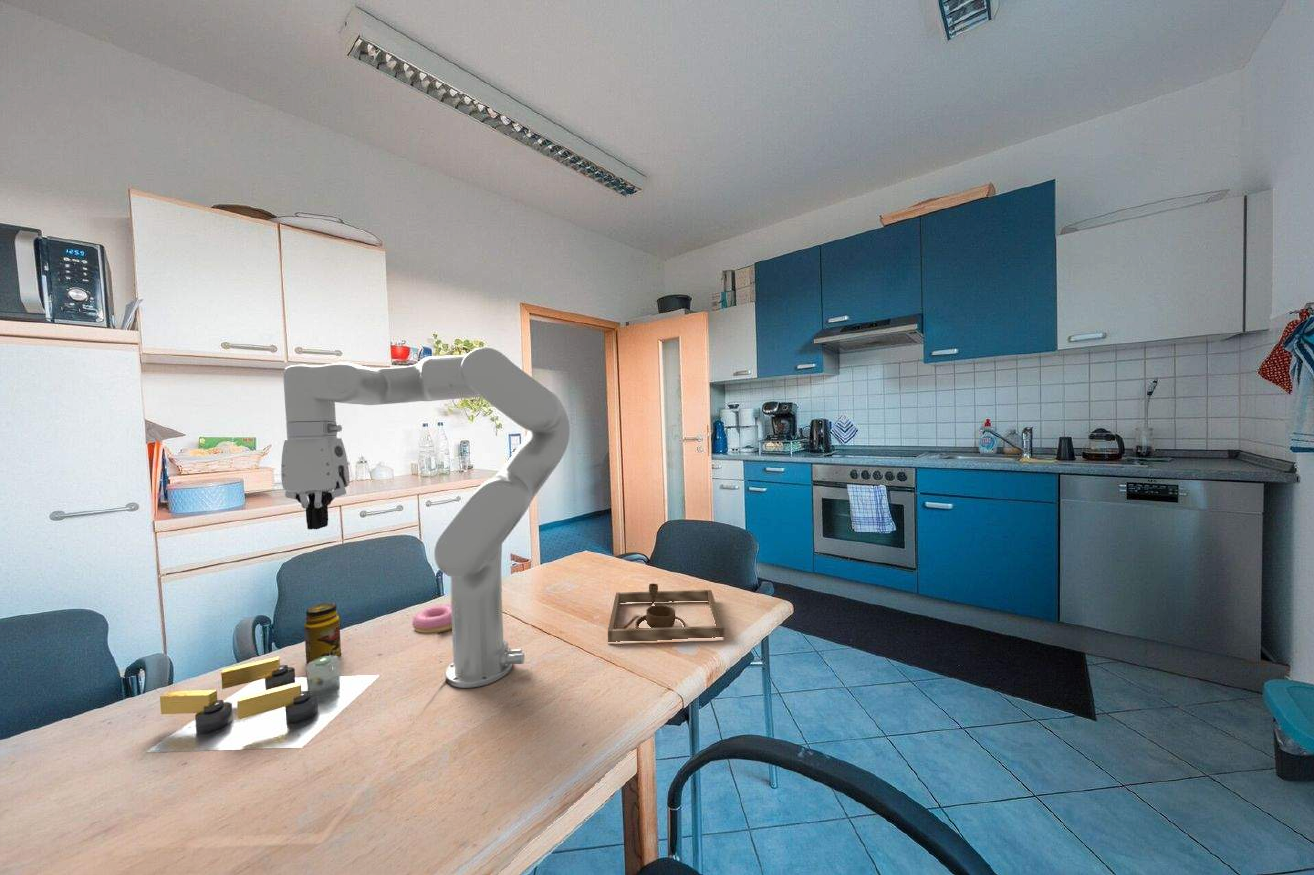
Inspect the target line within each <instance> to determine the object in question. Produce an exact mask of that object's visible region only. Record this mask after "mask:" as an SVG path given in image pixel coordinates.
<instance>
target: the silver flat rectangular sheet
mask: <svg viewBox="0 0 1314 875" xmlns="http://www.w3.org/2000/svg"><path fill="white" fill-rule="evenodd" d="M305 670H306V676H305V677H295V683H296V682H300V681H301V687H302V691H310V693H316V694H317V695H318V711H317V712H316V713H315V714H314V715H313V716H311V717H309V718H307V719H305V720H302V721H299V722H293V723H290V722H287V721H286V715H285V707H283V708H279V709H275V710H272V711H268V712H265V713H261V714H257V715H254V716H250V717H246V718H243V719H239V720H238V706H237V701H238V699H239V697H242V696H245V695H249V694H253V693H257V692H261V691H265V679H261V680H257V681H253V682H249V684H247V685H246V686H245V687H243V688H241V689H239V691H237V692H235V693H233V694H231V696H229V697H227V698H225V699H224V700H223V701H224V702H230V703H232V714H233V719H232V721H231V722H230V723H228V724H227V725H225V726H224V727H222V728H219V729H217V730H214V731H211V732H207V733H197V732H196V722H195V719H194V720H192V721H190V722H189V723H188V724H186V725H185V726H183V727H181V728H180V729H178V730H177V731H175V732H174V733H172V734H170V735H169V736H167V737H166V738H164V739H162V740H161V741H159V743H157V744H155V745H153V746H152V747H151V748H149V749H148V750H146V751H144V753H173V752H175V753H176V752H177V753H179V752H180V753H181V752H204V751H205V752H206V751H207V752H210V751H235V750H236V751H237V750H239V751H240V750H241V751H243V750H270V749H271V750H272V749H300V748H303V747H305V746H306V744H308V742H310V741H311V740H312V739H313V738H314V737H315V736H316V735H317V734H318V733H319V732H321V731H322V729H324V728H325V727H326V726H327V725H328V724H329V723H330V722H331V721H332V720H333V719H334V718H335V717H337V716H338V715H339V714H340V713H341V712H342V711H343V710H344V709H345V708H346V707H347V706H348V705H350V703H352V702H353V701H354V700H355V699H356V698H357V697H358V696H359V695H361V693H362V692H363V691H365V690H366V689H367V688H368V687H369V686H370V685H371V684H372V683H373V682H374V681H375V680H377V678H379V677H380V676H381V675H379V674H377V675H374V674H373V675H351V676H350V675H349V676H347V675H344V676H341V673H340V672H341V670H340V657H338V656H323V657H320V658H318V659H316V660H313V661H312V662H310V663H309V664H307V663H306V667H305Z"/></svg>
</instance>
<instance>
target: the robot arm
mask: <svg viewBox="0 0 1314 875" xmlns="http://www.w3.org/2000/svg"><path fill="white" fill-rule="evenodd" d="M282 376H283V392H284V405H285V409H284V410H285V422H286V423H285V425H286V437H287V438H286V439H284V440H283V446H282V451H281V464H280V465H281V466H280V467H281V468H280V470H281V471H280V472H281V473H280V475H281V478H280V479H281V485H282V488H283V490H284V491H285V492H284V496H285V497H286V498H288V499H292V500H296V501H298V502H299V503H300V504H301V507H302V509H305V516H306V517H305V518H306V519H305V520H306V526H307V530H310V531H311V530H319V529H322V528H326V527H328V526H329V510H328V506H330V505H331V504H332V502H333V500H334V499H336V498H338V497H342V496H346V495H347V491H346V488H347V487H348V486H349V485H350V481H351V480H350V468H349V461H348V457H347V452H346V448H345V445H344V442H343V439H342V437H338V436H337V435H338V433H339V432H341V431H342V430H343V427H342V425H341V424H338V423H337V417H336V403H339V404H348V405H349V404H350V405H363V406H377V405H381V406H382V405H391V404H392V405H394V404H405V403H406V404H407V403H415V402H433V401H434V402H436V401H445V400H457V399H469V398H470V399H472V398H482V399H483V400H484V401H485V402H487V403H489V404H490V405H491V406H492V407H494V408H496V409H497V410H498V411H500V412H501V413H502V414H503V415H504V416H506V417H507V418H509V419H510V420H511V421H513V422H514V423H516V424H517V425H518V426H520V427H521V428H523V429H525V430H527V435H526V437H525V438H524V439H523V441H522V442H521V443H520V444H519V445H518V447H517V448H516V449H515V451H514V452H513V454H512V456H511V457H510V458H509V459H508V460H507V462H506V463H505V464H504V465H503V467H502V468H501V469H500V470H499V471H498V472H497V473H496V474H495V475H493V476H492V477H490V478H489V479H487V480H486V481H484V482H483V483H482V484H480V485H479V487H477V489H476V490H475V491H474V492H473V493H472V495H471V496H470V497H469V498H468V500H467V501H466V502H465V504H463V506H462V508H460V510H459V511H458V513H457V514H456V515H455V517H454V518H453V519H452V520H451V521H450V523H449V524H448V525H447V527H446V528H445V529H444V531H443V532H442V533H441V534H440V536H439V537H438V539H437V541H436V544H435V547H434V552H433V554H434V561H435V564H436V566H437V568H438V569H439V570H440V571H441V573H442V574H444V575H445V576H447V577H449V578H450V605H451V614H452V628H451V636H452V637H451V638H452V657H453V662H451V663H450V664H449V665H448V666H447V668H446V670H445V672H444V673H445V674H444V675H445V681H446V683H447V684H449V685H450V686H453V687H456V688H461V689H462V688H463V689H465V688H466V689H467V688H468V689H469V688H476V687H482V686H485V685H488V684H492V683H494V682H497V681H498V680H501V679H502V678H504V677H505V676H506V675H507V674H508V673H509V672H510V670H511V669H512V667H513V665H523V664H524V662H525V657H526V656H525V652H524V653H523V650H522V648H515V649H512V648H510V647H509V641H504V623H503V622H504V619H503V600H502V598H503V597H502V595H503V593H502V591H503V588H502V583H503V582H502V555H503V543H504V542H505V540H506V539H507V538H508V537H509V535H510V534H511V533H512V531H513V530H514V529H515V527H516V526H517V525H518V523H519V522H520V521H521V519H522V518H523V517H524V515H525V514H526V512H527V511H528V509H529V507H530V506H531V503H532V501H533V499H535V497H536V496H537V495H538V493H539V491H540V489H542V487H543V486H544V485H545V483H546V482H547V481H548V479H549V478H550V477H551V475H552V473H553V472H554V470H555V469H556V468H557V466H559V463H560V462H561V460H562V459H563V457H564V456H565V454H566V450H567V448H568V445H569V441H570V432H571V430H570V428H571V426H570V420H569V417H568V414H567V411H566V408H565V407H564V405H563V403H562V401H561V399H560V398H559V397H558V396H557V395H556V394H555V393H553V392H552V391H551V390H550V389H548V388H547V387H545V386H544V385H543V384H541V383H540V382H539V381H538V380H536V379H535V378H533V377H532V376H531V375H530V374H528V373H526V371H524V370H523V369H521V368H520V367H518V366H517V365H516V364H515V363H513V362H512V361H511V360H510V359H509V358H508V357H507V356H506V355H504V354H503V353H502V352H501V351H499V350H497V349H494V348H492V347H478V348H475V349H473V350H471V351H469V352H468V353H466V354H458V355H442V356H441V355H439V356H426V357H424V358H422V359H421V360H420V361H419V362H418V363H415V364H413V365H412V364H411V365H408V366H400V367H385V368H372V367H371V368H370V367H368V366H363V365H360V364H354V363H351V362H337V363H331V364H323V365H312V364H311V365H310V364H309V365H308V364H296V365H289V366H287V367H285V369H284V371H283V375H282Z"/></svg>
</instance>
